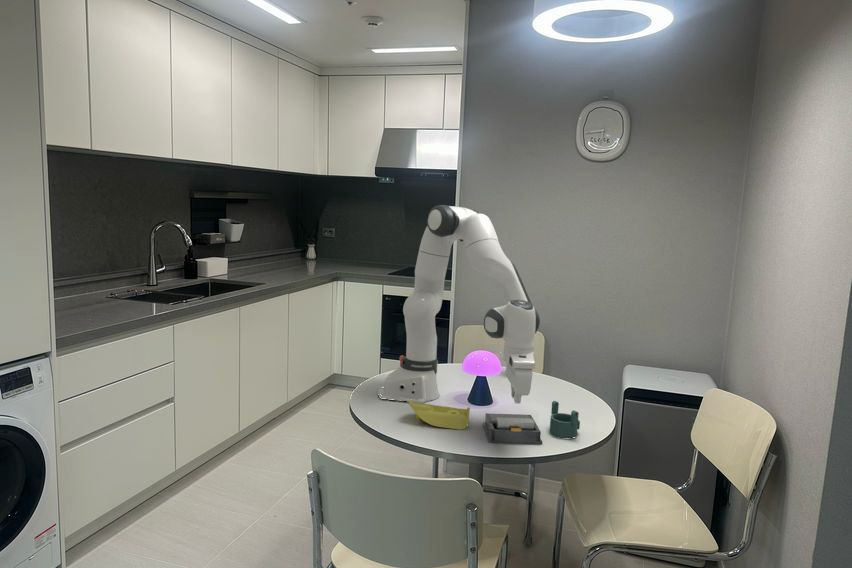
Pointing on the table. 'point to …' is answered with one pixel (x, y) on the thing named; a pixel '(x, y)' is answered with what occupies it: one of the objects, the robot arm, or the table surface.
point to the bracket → (563, 423)
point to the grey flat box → (510, 431)
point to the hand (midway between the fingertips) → (515, 400)
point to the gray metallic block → (514, 423)
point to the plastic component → (441, 415)
